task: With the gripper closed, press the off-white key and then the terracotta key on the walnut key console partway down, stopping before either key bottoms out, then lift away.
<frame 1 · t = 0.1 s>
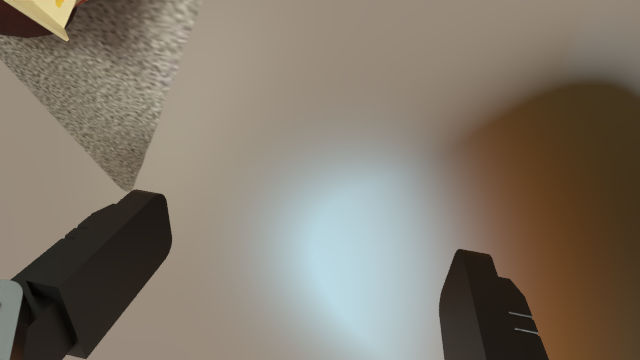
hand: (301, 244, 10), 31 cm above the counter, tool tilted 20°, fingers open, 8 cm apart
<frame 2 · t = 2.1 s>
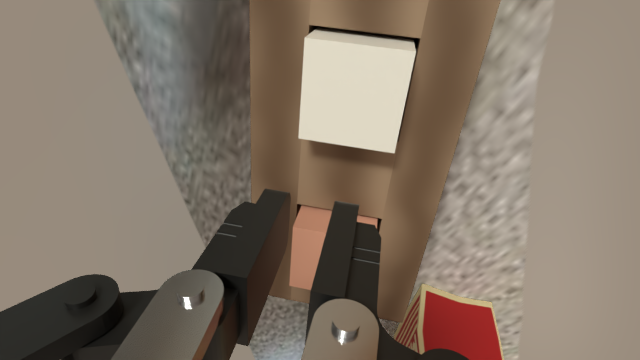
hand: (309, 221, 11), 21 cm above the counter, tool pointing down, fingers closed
terracotta key: (333, 248, 30), point 7 cm above the counter, slide at 0.0 cm
off-white key: (355, 88, 23), point 7 cm above the counter, slide at 0.0 cm
key console: (353, 139, 32), on the counter
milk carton: (445, 319, 41), on the counter
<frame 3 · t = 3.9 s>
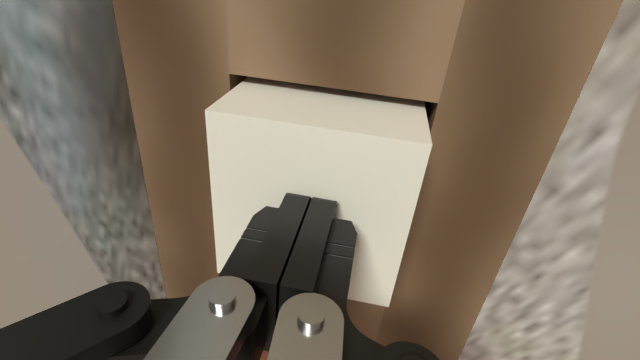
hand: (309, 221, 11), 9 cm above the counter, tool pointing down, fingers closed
off-white key: (318, 185, 13), point 7 cm above the counter, slide at 0.0 cm, touching gripper
key console: (330, 218, 22), on the counter
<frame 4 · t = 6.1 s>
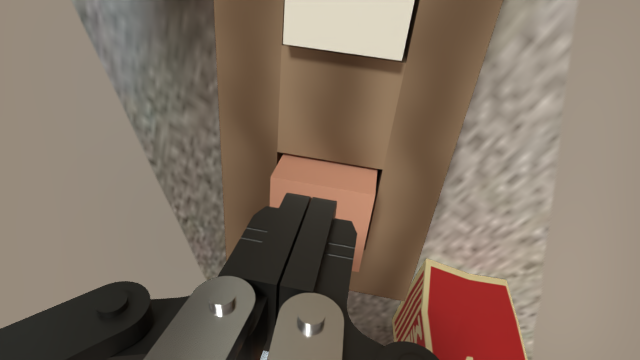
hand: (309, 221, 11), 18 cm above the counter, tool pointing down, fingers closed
terracotta key: (322, 208, 24), point 7 cm above the counter, slide at 0.0 cm
key console: (347, 79, 27), on the counter
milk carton: (451, 300, 36), on the counter
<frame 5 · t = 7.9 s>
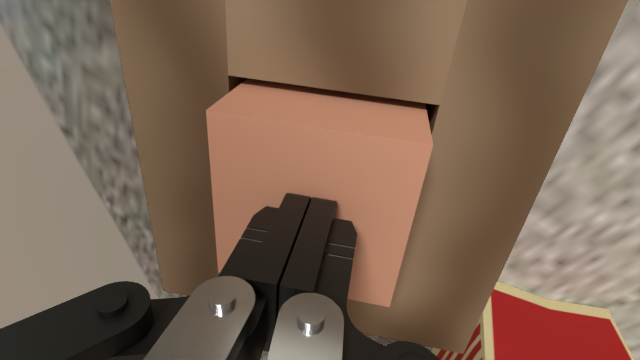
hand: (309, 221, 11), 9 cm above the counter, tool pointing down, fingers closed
terracotta key: (319, 185, 13), point 7 cm above the counter, slide at 0.2 cm, touching gripper
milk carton: (515, 337, 24), on the counter
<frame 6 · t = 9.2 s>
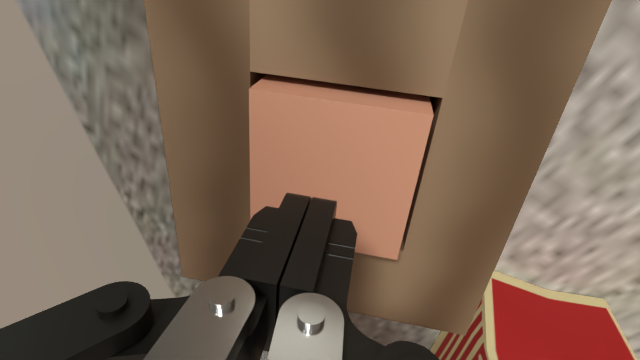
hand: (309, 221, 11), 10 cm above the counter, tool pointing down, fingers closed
terracotta key: (337, 157, 15), point 5 cm above the counter, slide at 1.5 cm
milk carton: (516, 328, 25), on the counter
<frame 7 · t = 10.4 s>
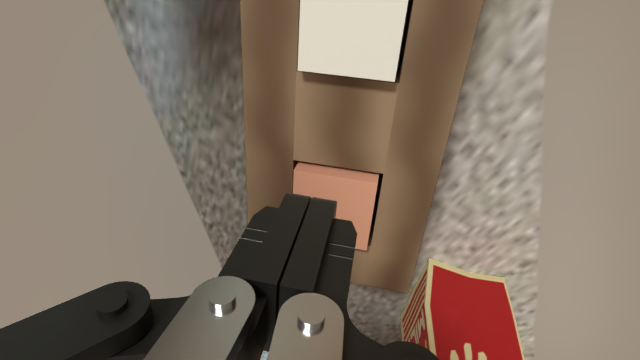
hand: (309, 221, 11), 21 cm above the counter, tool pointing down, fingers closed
terracotta key: (335, 198, 29), point 5 cm above the counter, slide at 1.5 cm
off-white key: (354, 19, 23), point 5 cm above the counter, slide at 1.6 cm
key console: (353, 98, 31), on the counter
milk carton: (454, 298, 39), on the counter
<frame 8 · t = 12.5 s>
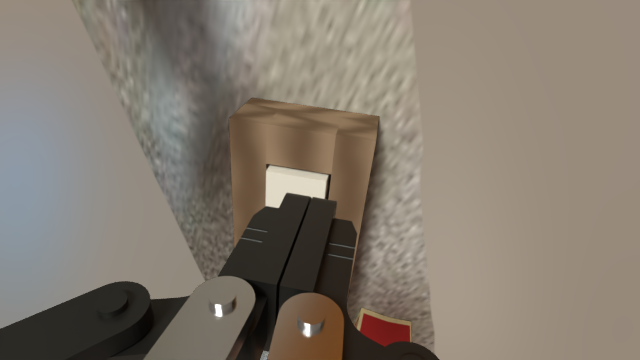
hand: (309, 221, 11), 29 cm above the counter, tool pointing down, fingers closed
off-white key: (298, 191, 39), point 5 cm above the counter, slide at 1.6 cm
key console: (305, 212, 47), on the counter
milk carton: (381, 333, 56), on the counter
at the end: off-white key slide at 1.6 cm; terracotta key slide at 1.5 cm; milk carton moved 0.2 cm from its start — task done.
